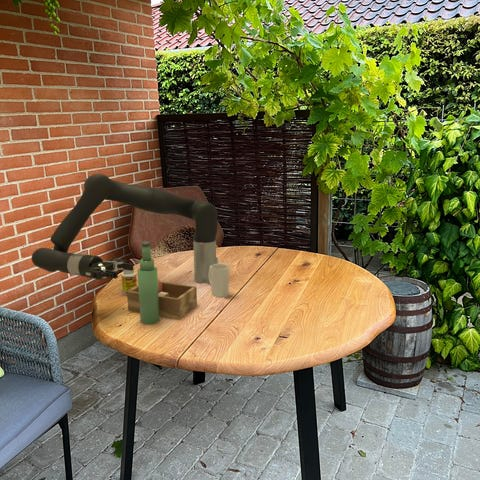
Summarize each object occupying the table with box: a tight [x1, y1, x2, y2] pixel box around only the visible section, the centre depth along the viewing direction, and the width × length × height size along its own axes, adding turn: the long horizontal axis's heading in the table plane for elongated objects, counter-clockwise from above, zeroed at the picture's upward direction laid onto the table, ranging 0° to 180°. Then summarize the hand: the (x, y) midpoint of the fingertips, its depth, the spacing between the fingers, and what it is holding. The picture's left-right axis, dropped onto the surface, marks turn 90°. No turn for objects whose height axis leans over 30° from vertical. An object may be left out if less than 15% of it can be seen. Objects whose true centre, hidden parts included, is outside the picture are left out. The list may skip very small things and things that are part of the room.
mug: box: [208, 263, 230, 299], centre depth 167 cm, size 10×7×12 cm, turn 42°
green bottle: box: [137, 240, 161, 325], centre depth 141 cm, size 6×6×27 cm
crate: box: [126, 279, 198, 321], centre depth 153 cm, size 13×20×9 cm, turn 68°
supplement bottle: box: [121, 268, 138, 296], centre depth 169 cm, size 6×6×10 cm
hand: (125, 271), depth 143 cm, fingers open, 8 cm apart
